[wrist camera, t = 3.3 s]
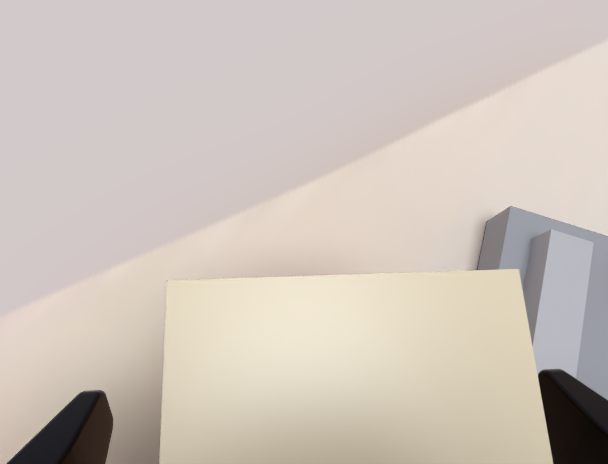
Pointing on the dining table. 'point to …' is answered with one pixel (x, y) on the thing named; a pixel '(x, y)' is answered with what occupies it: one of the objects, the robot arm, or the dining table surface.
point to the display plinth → (557, 289)
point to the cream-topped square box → (351, 371)
